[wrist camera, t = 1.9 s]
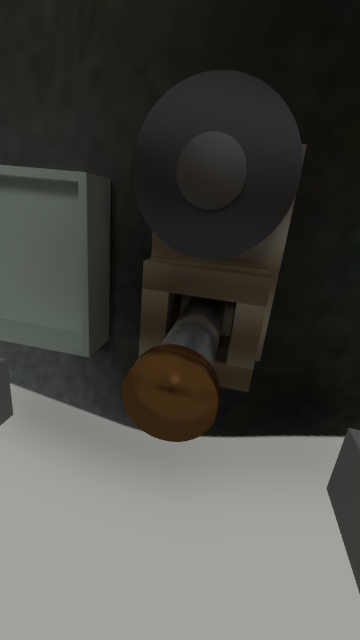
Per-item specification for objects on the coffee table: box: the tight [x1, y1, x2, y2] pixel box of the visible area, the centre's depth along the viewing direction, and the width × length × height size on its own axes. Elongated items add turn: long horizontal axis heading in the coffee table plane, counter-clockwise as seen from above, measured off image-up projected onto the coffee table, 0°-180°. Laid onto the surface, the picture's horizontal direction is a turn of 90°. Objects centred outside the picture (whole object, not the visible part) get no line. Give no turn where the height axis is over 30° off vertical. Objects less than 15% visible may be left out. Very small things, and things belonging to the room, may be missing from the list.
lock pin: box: [121, 296, 226, 442], centre depth 18 cm, size 4×4×13 cm
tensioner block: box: [132, 70, 307, 392], centre depth 19 cm, size 17×10×9 cm, turn 175°
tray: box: [0, 165, 111, 357], centre depth 25 cm, size 14×12×4 cm
